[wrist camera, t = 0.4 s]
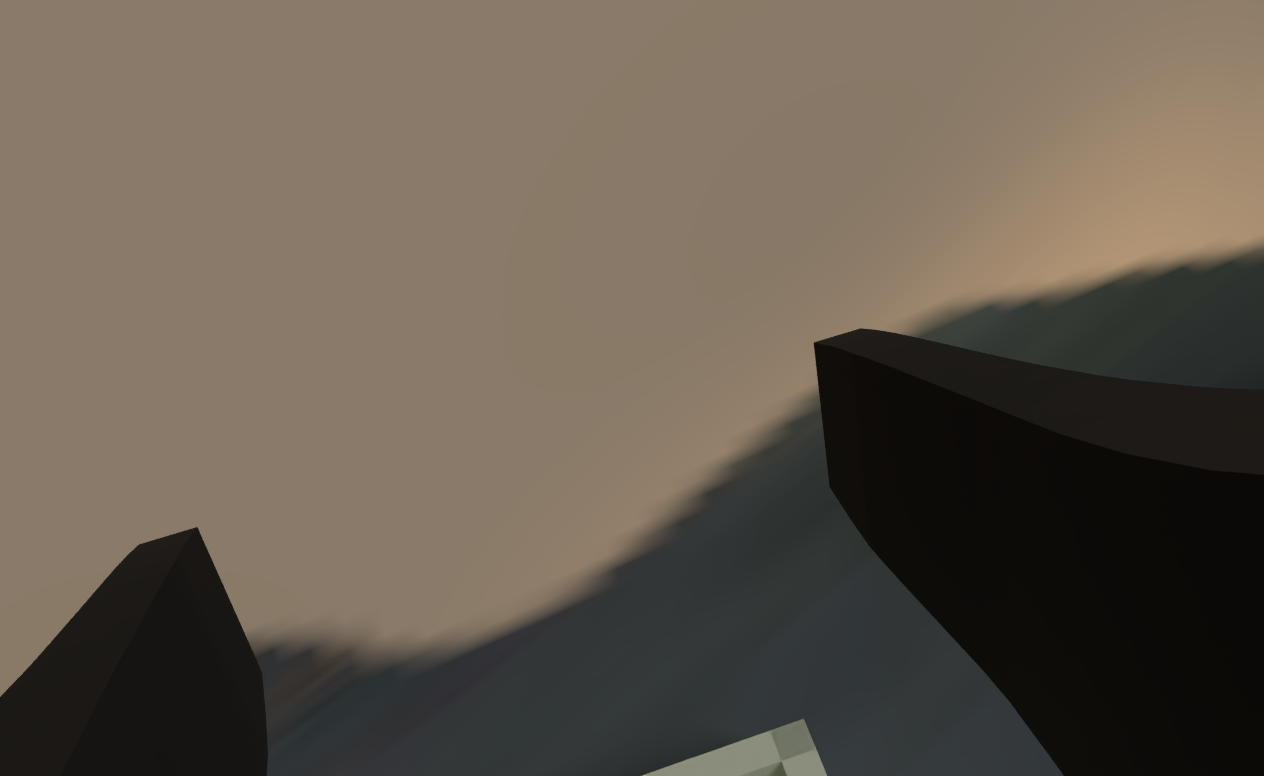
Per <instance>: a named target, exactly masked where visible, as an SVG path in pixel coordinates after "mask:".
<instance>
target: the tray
mask: <svg viewBox="0 0 1264 776" xmlns="http://www.w3.org/2000/svg"><path fill="white" fill-rule="evenodd" d="M642 776H827V774H826V772H825V769H824V767H823V765H822V762H821V760H820V757H819V755H818V752H817V750H816V748H815V745H814V743H813V740H812V738H811V735H810V733H809V731H808V728H807V726H806V723H805V721H804V719H802V720H799V721H796V722H793V723H791V724H788V725H785V726H782V727H779V728H776V729H774V730H771V731H768V732H765V733H762V734H759V735H756V736H754V737H751V738H748V739H745V740H742V741H739V742H736V743H734V744H731V745H728V746H725V747H722V748H719V749H717V750H714V751H711V752H708V753H705V754H702V755H699V756H697V757H694V758H691V759H688V760H685V761H682V762H679V763H677V764H674V765H671V766H668V767H665V768H662V769H660V770H657V771H654V772H651V773H648V774H645V775H642Z"/></svg>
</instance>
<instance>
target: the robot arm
mask: <svg viewBox="0 0 1264 776" xmlns="http://www.w3.org/2000/svg"><path fill="white" fill-rule="evenodd" d="M814 349H815V357H816V367H817V376H818V385H819V394H820V403H821V412H822V421H823V430H824V439H825V448H826V457H827V466H828V475H829V484H830V488H831V490H832V491H833V493H834V494H835V496H836V497H837V499H838V500H839V502H840V504H841V505H842V507H843V508H844V510H845V511H846V513H847V514H848V516H849V517H850V519H851V521H852V522H853V523H854V525H855V526H856V528H857V529H858V531H859V532H860V533H861V535H862V536H863V538H864V539H865V541H866V542H867V543H868V545H869V546H870V548H871V549H872V550H873V551H874V552H875V553H876V554H877V556H878V557H879V558H880V559H881V560H882V561H883V562H884V563H885V565H886V566H887V567H888V568H889V569H890V570H891V571H892V572H893V573H894V574H895V576H896V577H897V578H898V579H899V580H900V581H901V582H902V583H903V584H904V585H905V587H906V588H907V589H908V590H909V591H910V592H911V593H912V594H913V595H914V596H915V597H916V599H917V600H918V601H919V602H920V603H921V604H922V605H923V606H924V607H925V608H926V609H927V610H928V611H929V613H930V614H931V615H932V616H933V617H934V618H935V619H936V620H937V621H938V622H939V623H940V624H941V625H942V627H943V628H944V629H945V630H946V631H947V632H948V633H949V634H950V635H951V636H952V637H953V638H954V639H955V641H956V642H957V643H958V644H959V645H960V646H961V647H962V648H963V649H964V650H965V651H966V652H967V654H968V655H969V656H970V657H971V658H972V659H973V660H974V661H975V662H976V663H977V664H978V665H979V666H980V668H981V669H982V670H983V671H984V672H985V673H986V674H987V675H988V677H989V678H990V679H991V680H992V681H993V683H994V684H995V685H996V686H997V687H998V688H999V690H1000V691H1001V692H1002V693H1003V694H1004V696H1005V697H1006V698H1007V699H1008V700H1009V702H1010V703H1011V704H1012V706H1013V707H1014V708H1015V710H1016V711H1017V712H1018V714H1019V715H1020V716H1021V718H1022V719H1023V720H1024V722H1025V723H1026V725H1027V726H1028V727H1029V729H1030V730H1031V731H1032V733H1033V734H1034V735H1035V737H1036V738H1037V739H1038V741H1039V742H1040V743H1041V745H1042V746H1043V748H1044V749H1045V750H1046V752H1047V753H1048V754H1049V756H1050V757H1051V758H1052V760H1053V761H1054V762H1055V764H1056V765H1057V767H1058V768H1059V769H1060V771H1061V772H1062V774H1063V775H1064V776H1264V390H1250V389H1225V388H1209V387H1195V386H1184V385H1175V384H1165V383H1155V382H1145V381H1136V380H1127V379H1120V378H1113V377H1106V376H1099V375H1093V374H1087V373H1082V372H1076V371H1070V370H1064V369H1059V368H1053V367H1047V366H1042V365H1037V364H1032V363H1027V362H1022V361H1018V360H1013V359H1008V358H1004V357H999V356H995V355H990V354H986V353H981V352H977V351H972V350H968V349H964V348H959V347H955V346H951V345H947V344H942V343H938V342H933V341H929V340H925V339H920V338H916V337H911V336H906V335H901V334H897V333H891V332H886V331H879V330H871V329H858V330H854V331H851V332H848V333H844V334H841V335H837V336H834V337H831V338H827V339H824V340H821V341H818V342H814ZM267 759H268V746H267V729H266V713H265V702H264V690H263V678H262V671H261V669H260V667H259V665H258V662H257V660H256V658H255V656H254V653H253V651H252V649H251V647H250V644H249V642H248V640H247V638H246V635H245V633H244V631H243V629H242V626H241V624H240V622H239V620H238V618H237V615H236V613H235V611H234V609H233V606H232V604H231V602H230V600H229V597H228V595H227V593H226V591H225V588H224V586H223V584H222V582H221V579H220V577H219V575H218V573H217V570H216V568H215V566H214V564H213V561H212V559H211V557H210V555H209V553H208V550H207V548H206V546H205V544H204V541H203V539H202V537H201V535H200V532H199V530H198V528H197V527H196V528H193V529H189V530H186V531H183V532H179V533H176V534H173V535H169V536H166V537H163V538H160V539H156V540H153V541H149V542H146V543H143V544H140V545H138V546H137V547H136V548H135V549H134V550H133V551H132V552H130V553H129V554H128V555H127V556H126V558H125V559H124V560H123V561H122V562H121V563H120V564H119V565H118V566H117V567H116V568H115V569H114V570H113V572H112V573H111V574H110V575H109V576H108V577H107V578H106V579H105V581H104V582H103V583H102V584H101V585H100V587H99V588H98V589H97V590H96V591H95V592H94V593H93V594H92V596H91V597H90V598H89V599H88V600H87V602H86V603H85V604H84V605H83V606H82V607H81V609H80V610H79V611H78V612H77V613H76V614H75V616H74V617H73V618H72V619H71V620H70V621H69V622H68V623H67V624H66V626H65V627H64V628H63V629H62V630H61V631H60V632H59V634H58V635H57V636H56V637H55V638H54V639H53V641H52V642H51V643H50V644H49V645H48V646H47V647H46V649H45V650H44V651H43V652H42V653H41V654H40V655H39V657H38V658H37V659H36V660H35V661H34V662H33V663H32V664H31V665H30V666H29V667H28V668H27V670H26V671H25V672H24V673H23V674H22V675H21V676H20V677H19V678H18V679H17V680H16V681H15V682H14V683H13V684H12V685H11V686H10V687H9V688H8V689H7V690H6V692H5V693H4V694H3V695H2V696H1V697H0V776H267Z"/></svg>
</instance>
